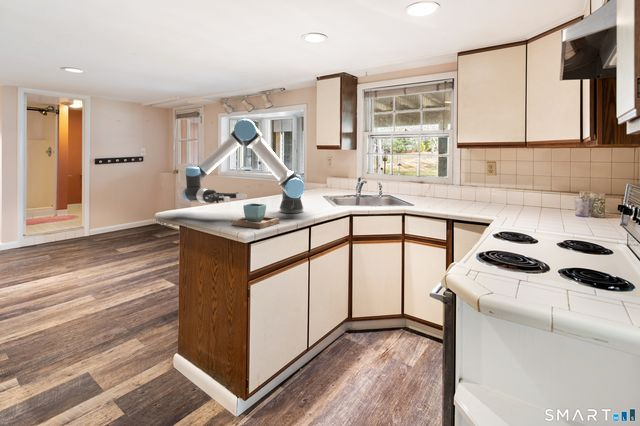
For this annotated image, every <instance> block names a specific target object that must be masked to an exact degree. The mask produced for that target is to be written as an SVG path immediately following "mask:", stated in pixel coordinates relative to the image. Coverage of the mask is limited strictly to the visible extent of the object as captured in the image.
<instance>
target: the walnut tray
mask: <svg viewBox="0 0 640 426" xmlns="http://www.w3.org/2000/svg"><path fill="white" fill-rule="evenodd" d="M231 221H232V222H231V223H232V226H236V227H237V226H238V227H244V228H252V229H259V230H260V229H264V228H266V227H271V226H274V225H277V224H280V218H279V217H271V216H264V218H263V220H262V221H261V222H258V223H257V222H249V221H247V219H246V218H245V216H244V217H241V218H240V217H239V218H236V219H232V220H231Z"/></svg>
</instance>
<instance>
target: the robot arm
mask: <svg viewBox="0 0 640 426" xmlns="http://www.w3.org/2000/svg"><path fill="white" fill-rule="evenodd" d="M242 146H245V147H246V148H247V149H251V150H252V152H254V154H255V155H256V156H257V157H258V159H259V160H260V161H261V163H263V164H264V165H265V167H266V168H267V169H268V170H269V171H270V172H271V173H272V175H273V176H274V177H275V178H276V179H277V180H278V182H277V184H278V186H280V188H281V189H282V195H281V197H282V198H281V203H280V205H279V212H280V213H283V214H284V213H286V214H299V213H304V205H303V202H302V196H303V195H304V194H305V189H306V185H305V182H304V181H303V180H302V176H301V175H299V174H296V172H294V171H292V170H289V168H288V167H287V166H286V165H285V164H284V162H283V161H282V160H281V159H280V158H279V156H277V154H276V152H274V151H273V149H272V148H271V147H270V145H268V144H267V142H266V141H265V140H264V138H263V134H262V132H261V131H260V130H259V129H258V127H257V126H256V124H255V122H253V121H252V120H251V119H249V118H241V119H239V120H238V121H237V122H236V123H235V125H234V127H233V131H232V132H231V133H229V137H228V138H227V139H226V140H224V142H222V144H220V145H219V146H218V147H217V148H216V149H214V151H212V152H211V153H210V155H208V156H207V157H206V158H205V159H204V160H203V161H202V162H200V164H198V165H197V166H187V167H185V173H184V174H185V179H186V180H185V181H186V183H185V184H186V187H185V188H184V189H183V192H182V197H183V199H184V200H185V201H187V202H192V203H202V204H205V203H206V204H214V203H216V204H219V202H222V203H231V199H239V200H247V199H248V198H247V197H248V196H247V193H239V192H236V193H235V192H233V193H232V192H230V193H229V192H228V193H227V192H217V191H216V190H214V189H213V188H212V189H210V188H202V187H201V182H202V181H203V180H204V179H205V178H206V177H207V176H208V175H209V174H210V173H211V172H212V171H214V169H216V168H218V166H219V165H220V164H221V163H223V161H225V160H226V159H227V158H228V157H229V156H230V155H232V154H233V152H235V151H236V150H238V148H239V147H242Z"/></svg>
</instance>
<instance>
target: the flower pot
mask: <svg viewBox="0 0 640 426" xmlns="http://www.w3.org/2000/svg"><path fill="white" fill-rule="evenodd" d="M242 208H243V214H244V217H245V218H246V219H247V221H249V222H257V223H258V222H261V221H262V220H263V218H264V217H266V210H267V204H264V203H263V204H262V203H248V204H244V205H243V207H242Z"/></svg>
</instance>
